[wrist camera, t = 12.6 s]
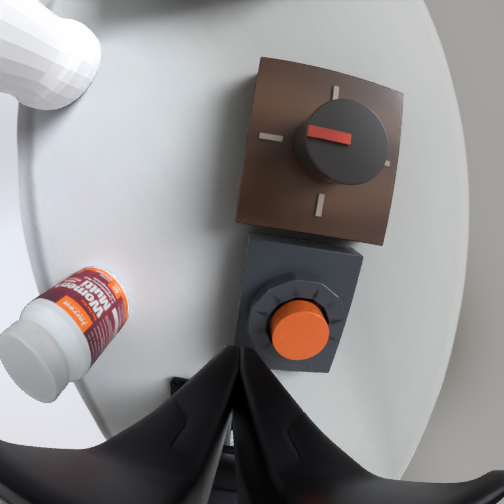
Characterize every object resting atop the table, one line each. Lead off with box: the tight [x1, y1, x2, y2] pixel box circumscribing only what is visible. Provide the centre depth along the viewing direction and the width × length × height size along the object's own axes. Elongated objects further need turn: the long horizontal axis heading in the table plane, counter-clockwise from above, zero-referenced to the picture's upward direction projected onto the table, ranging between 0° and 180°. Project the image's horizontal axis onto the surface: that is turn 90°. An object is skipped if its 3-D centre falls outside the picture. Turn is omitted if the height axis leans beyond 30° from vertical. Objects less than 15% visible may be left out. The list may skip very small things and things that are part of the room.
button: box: [271, 300, 329, 360], centre depth 18 cm, size 4×4×2 cm
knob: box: [294, 99, 389, 185], centre depth 14 cm, size 4×4×4 cm
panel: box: [235, 57, 403, 246], centre depth 18 cm, size 11×10×3 cm
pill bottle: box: [0, 266, 130, 403], centre depth 17 cm, size 6×6×11 cm
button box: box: [233, 232, 363, 373], centre depth 20 cm, size 10×8×4 cm
